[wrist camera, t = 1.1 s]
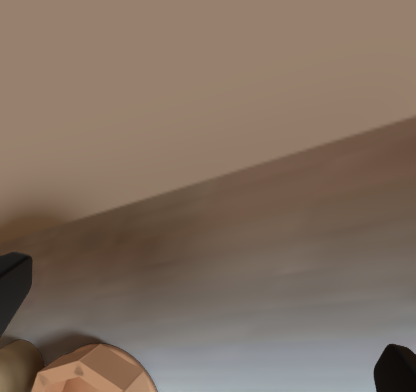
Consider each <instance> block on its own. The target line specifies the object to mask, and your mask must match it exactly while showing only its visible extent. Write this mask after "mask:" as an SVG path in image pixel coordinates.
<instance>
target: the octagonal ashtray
mask: <svg viewBox="0 0 416 392" xmlns="http://www.w3.org/2000/svg"><path fill="white" fill-rule="evenodd" d="M31 392H158V391H157V389H156V386H155V384H154V382H153V380H152V379H151V377H150V375H149V374H148V372H147V371H146V370H145V368H144V367H143V366H142V365H141V364H140V363H139V362H138V361H137V360H136V359H135V358H134V357H133V356H131V355H130V354H128V353H127V352H125V351H124V350H122V349H120V348H117V347H115V346H112V345H108V344H101V343H94V344H88V345H85V346H82V347H80V348H78V349H77V350H75V351H74V352H72V353H70V354H66V355H62V356H61V357H59V358H58V359H56V360H55V361H54V362H52V363H51V364H49V365H48V366H46V367H45V368H43V369H42V370H40V371H39V372H38V373H37V376H36V379H35V382H34V385H33V388H32V391H31Z"/></svg>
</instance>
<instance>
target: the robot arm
mask: <svg viewBox="0 0 416 392" xmlns="http://www.w3.org/2000/svg"><path fill="white" fill-rule="evenodd" d="M31 284H32V257H31V256H30V255H27V254H23V253H19V252H12V253H8V254H5V255H3V256H0V337H1V336H2V334H3V332H4V331H5V329H6V328H7V326H8V324H9V323H10V321H11V319H12V318H13V316H14V315H15V313H16V311H17V310H18V308H19V307H20V305H21V303H22V302H23V300H24V299H25V297H26V295H27V294H28V292H29V290H30V288H31ZM374 381H375V386H376V391H377V392H416V354H414V353H413V352H412V351H411V350H410V349H409V348H407V347H404V346H400V345H396V344H389V345H387V347H386V348H385V350H384V351H383V353H382V355H381V356H380V358H379V360H378V362H377V363H376V365H375V368H374Z"/></svg>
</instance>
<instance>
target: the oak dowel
mask: <svg viewBox="0 0 416 392" xmlns="http://www.w3.org/2000/svg"><path fill="white" fill-rule="evenodd" d="M43 368H44V363H43V359H42V357H41V354H40V352H39V351H38V349H37V348H36V347H35V346H34V345H33V344H31V343H30V342H28V341H25V340H17V341H15V342H13V343H11V344H9V345H7V346H5V347H3V348H1V349H0V392H29V391H30V390H32V388H33V385H34V382H35V379H36V376H37V373H38V372H39V371H40V370H42V369H43Z"/></svg>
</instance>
